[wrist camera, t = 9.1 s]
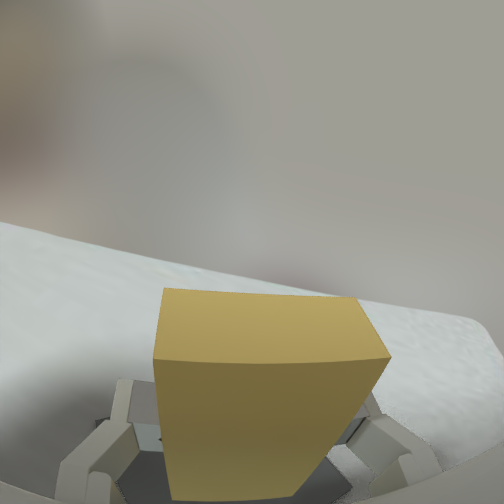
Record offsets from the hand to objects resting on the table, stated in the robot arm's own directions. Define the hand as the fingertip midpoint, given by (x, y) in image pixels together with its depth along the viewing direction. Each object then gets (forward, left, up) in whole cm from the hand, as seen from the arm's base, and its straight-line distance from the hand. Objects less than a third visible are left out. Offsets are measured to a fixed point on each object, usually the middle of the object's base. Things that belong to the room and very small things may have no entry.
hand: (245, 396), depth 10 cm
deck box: (0, -1, -5) cm, 6 cm away
